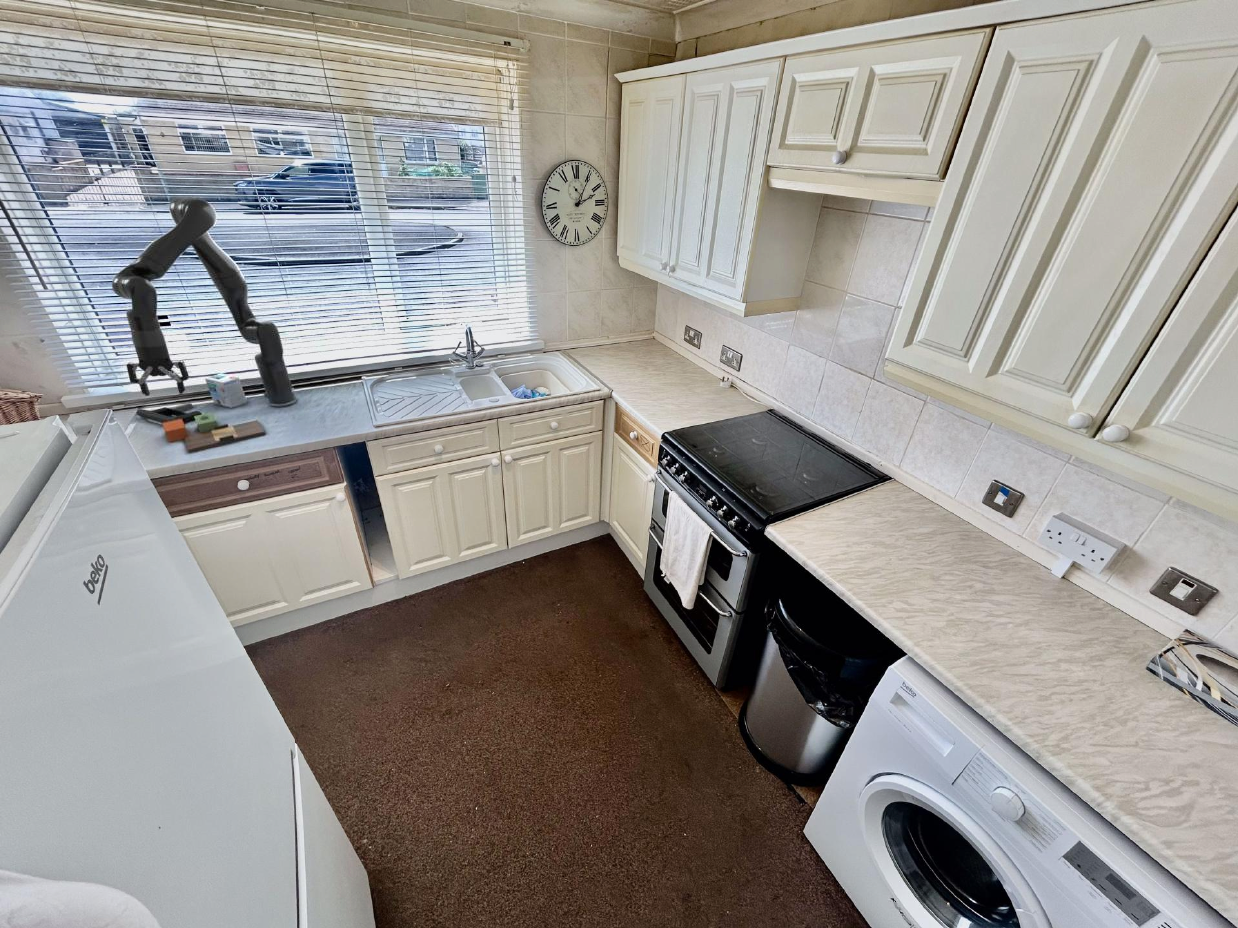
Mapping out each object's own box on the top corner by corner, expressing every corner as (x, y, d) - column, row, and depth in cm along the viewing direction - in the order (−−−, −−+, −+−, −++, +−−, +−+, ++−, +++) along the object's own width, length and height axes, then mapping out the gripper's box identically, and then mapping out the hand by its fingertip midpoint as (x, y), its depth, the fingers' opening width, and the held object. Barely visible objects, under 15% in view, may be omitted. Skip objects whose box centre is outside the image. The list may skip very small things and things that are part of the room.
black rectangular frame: (178, 398, 205) (131, 411, 191) (212, 407, 198) (165, 421, 185) (181, 406, 206) (134, 419, 193) (215, 415, 200) (168, 429, 186)
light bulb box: (213, 403, 207) (203, 378, 202) (230, 397, 212) (220, 372, 207) (232, 408, 204) (222, 382, 198) (248, 402, 209) (239, 376, 204)
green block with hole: (198, 426, 190) (192, 413, 187) (216, 422, 193) (211, 409, 190) (201, 434, 184) (196, 422, 181) (219, 430, 187) (214, 418, 185)
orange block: (167, 432, 184) (162, 422, 182) (186, 428, 188) (181, 418, 186) (169, 442, 179) (164, 431, 177) (189, 437, 182) (184, 427, 180)
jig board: (185, 439, 180) (182, 433, 179) (258, 423, 193) (256, 417, 192) (189, 452, 173) (186, 446, 172) (265, 434, 185) (263, 428, 184)
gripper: (181, 340, 167) (194, 389, 174) (123, 341, 161) (139, 392, 167) (176, 345, 161) (190, 395, 168) (116, 346, 155) (132, 399, 161)
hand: (164, 394), depth 167 cm, fingers open, 8 cm apart
